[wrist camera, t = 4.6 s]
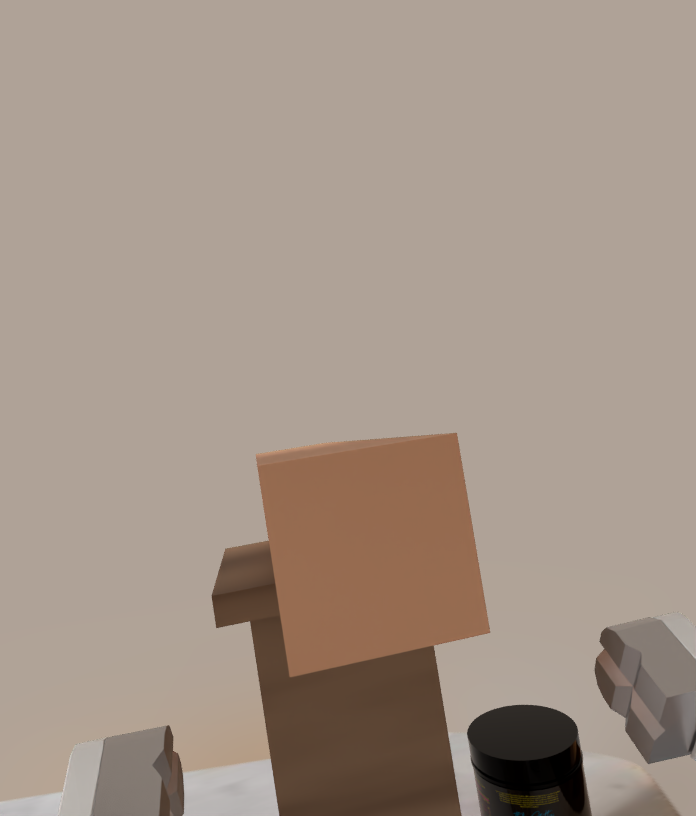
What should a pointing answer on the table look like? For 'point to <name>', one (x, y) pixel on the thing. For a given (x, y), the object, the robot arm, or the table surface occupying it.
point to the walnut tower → (341, 714)
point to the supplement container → (528, 763)
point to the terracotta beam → (371, 548)
